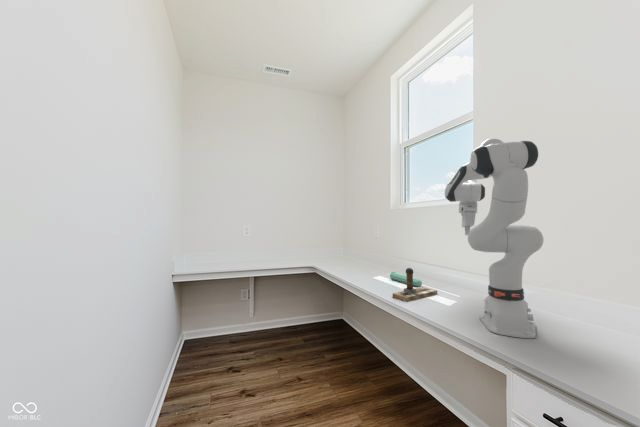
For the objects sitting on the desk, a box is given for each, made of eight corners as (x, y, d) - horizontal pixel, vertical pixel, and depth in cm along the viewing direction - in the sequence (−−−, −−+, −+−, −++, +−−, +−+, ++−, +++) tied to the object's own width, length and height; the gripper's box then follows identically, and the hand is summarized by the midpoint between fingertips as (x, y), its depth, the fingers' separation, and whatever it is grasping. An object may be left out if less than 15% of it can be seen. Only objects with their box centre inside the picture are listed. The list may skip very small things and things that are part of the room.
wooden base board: (422, 290, 163) (422, 286, 163) (437, 294, 155) (437, 290, 155) (392, 297, 151) (392, 292, 151) (407, 301, 142) (407, 297, 142)
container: (422, 277, 172) (395, 270, 195) (415, 281, 170) (388, 274, 193) (424, 285, 173) (397, 277, 196) (418, 290, 171) (391, 281, 194)
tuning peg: (410, 290, 154) (409, 266, 154) (421, 293, 148) (420, 268, 148) (403, 292, 151) (403, 267, 152) (414, 295, 145) (413, 269, 145)
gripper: (459, 211, 162) (458, 235, 161) (463, 207, 143) (462, 234, 142) (471, 211, 160) (470, 235, 159) (477, 207, 141) (477, 235, 140)
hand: (467, 235), depth 150 cm, fingers closed
